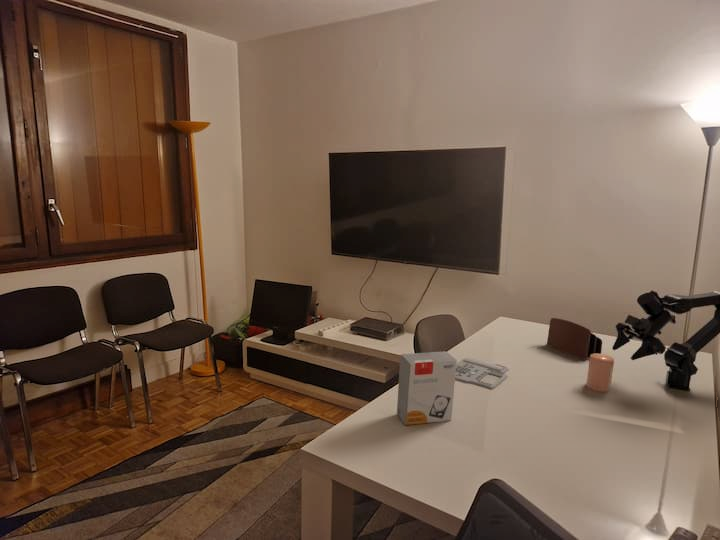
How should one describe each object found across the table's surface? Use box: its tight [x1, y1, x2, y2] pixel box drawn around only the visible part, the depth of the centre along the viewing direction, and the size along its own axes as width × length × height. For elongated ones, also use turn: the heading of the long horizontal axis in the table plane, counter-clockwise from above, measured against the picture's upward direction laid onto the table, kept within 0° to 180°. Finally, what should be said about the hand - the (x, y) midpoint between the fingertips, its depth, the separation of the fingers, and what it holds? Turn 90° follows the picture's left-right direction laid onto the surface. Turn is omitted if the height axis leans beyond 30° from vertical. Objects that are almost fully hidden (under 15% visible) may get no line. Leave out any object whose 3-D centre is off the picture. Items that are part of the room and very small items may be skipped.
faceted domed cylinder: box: [586, 353, 615, 393], centre depth 167 cm, size 7×7×12 cm
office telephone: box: [455, 356, 510, 390], centre depth 181 cm, size 23×3×20 cm
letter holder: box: [546, 317, 603, 361], centre depth 205 cm, size 10×20×14 cm, turn 30°
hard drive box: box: [396, 351, 458, 426], centre depth 144 cm, size 16×8×20 cm, turn 105°
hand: (622, 354), depth 167 cm, fingers open, 9 cm apart
